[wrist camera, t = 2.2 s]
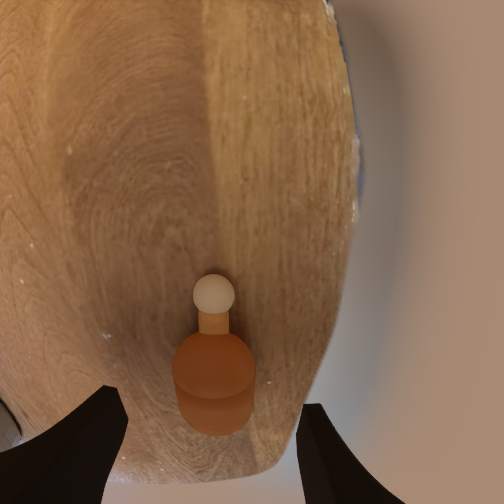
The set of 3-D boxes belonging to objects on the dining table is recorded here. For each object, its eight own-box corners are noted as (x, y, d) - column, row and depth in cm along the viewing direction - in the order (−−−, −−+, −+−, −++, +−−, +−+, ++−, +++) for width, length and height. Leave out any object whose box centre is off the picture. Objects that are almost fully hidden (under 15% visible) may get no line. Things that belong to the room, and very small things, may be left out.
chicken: (252, 399, 14) (252, 450, 10) (188, 396, 14) (177, 445, 10) (258, 269, 11) (262, 311, 8) (174, 266, 11) (148, 306, 8)
